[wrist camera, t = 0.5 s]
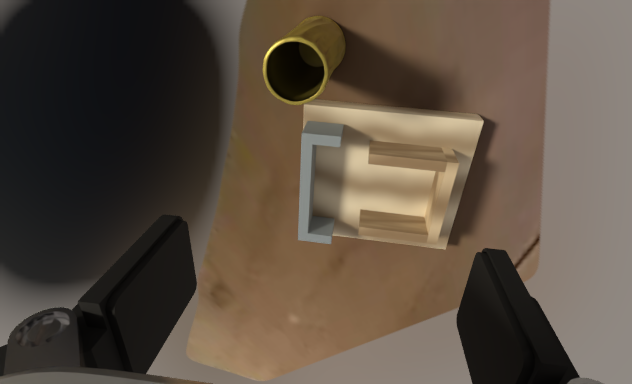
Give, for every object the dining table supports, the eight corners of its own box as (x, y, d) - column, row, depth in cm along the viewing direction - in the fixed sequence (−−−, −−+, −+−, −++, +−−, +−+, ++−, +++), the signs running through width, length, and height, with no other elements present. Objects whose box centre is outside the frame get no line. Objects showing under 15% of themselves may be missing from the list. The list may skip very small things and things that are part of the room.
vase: (356, 52, 40) (349, 81, 28) (313, 84, 43) (289, 125, 30) (323, 2, 38) (300, 11, 26) (280, 40, 41) (240, 64, 28)
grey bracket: (307, 120, 42) (301, 132, 39) (343, 124, 42) (340, 136, 38) (303, 222, 49) (298, 239, 46) (333, 225, 49) (330, 244, 45)
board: (307, 98, 44) (297, 115, 38) (478, 114, 42) (494, 134, 36) (302, 220, 53) (293, 248, 47) (442, 238, 51) (450, 269, 45)
